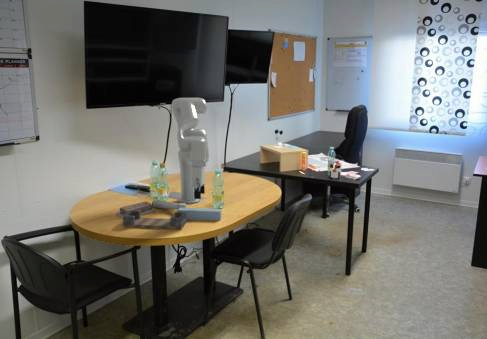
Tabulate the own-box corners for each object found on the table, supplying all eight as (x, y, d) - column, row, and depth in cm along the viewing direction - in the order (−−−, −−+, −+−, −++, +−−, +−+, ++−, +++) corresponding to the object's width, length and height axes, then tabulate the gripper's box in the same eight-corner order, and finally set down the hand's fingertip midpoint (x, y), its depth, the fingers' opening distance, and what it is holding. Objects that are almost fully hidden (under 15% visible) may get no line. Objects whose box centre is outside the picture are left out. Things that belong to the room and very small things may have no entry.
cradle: (123, 227, 208) (122, 216, 207) (130, 219, 218) (130, 209, 217) (181, 229, 205) (181, 218, 204) (186, 222, 215) (185, 212, 214)
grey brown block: (144, 199, 237) (154, 203, 230) (145, 207, 238) (155, 212, 231) (115, 206, 225) (124, 211, 218) (115, 215, 226) (125, 220, 219)
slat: (178, 219, 220) (177, 210, 219) (179, 216, 224) (179, 207, 223) (220, 220, 218) (220, 211, 217) (221, 218, 222) (221, 209, 221)
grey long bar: (157, 198, 240) (189, 201, 225) (158, 210, 241) (191, 213, 227) (150, 201, 236) (182, 203, 221) (151, 212, 237) (184, 216, 222)
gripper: (195, 159, 223) (196, 191, 226) (187, 166, 206) (188, 200, 210) (209, 160, 222) (209, 191, 226) (202, 166, 205) (203, 201, 209)
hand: (199, 196), depth 218 cm, fingers open, 9 cm apart
